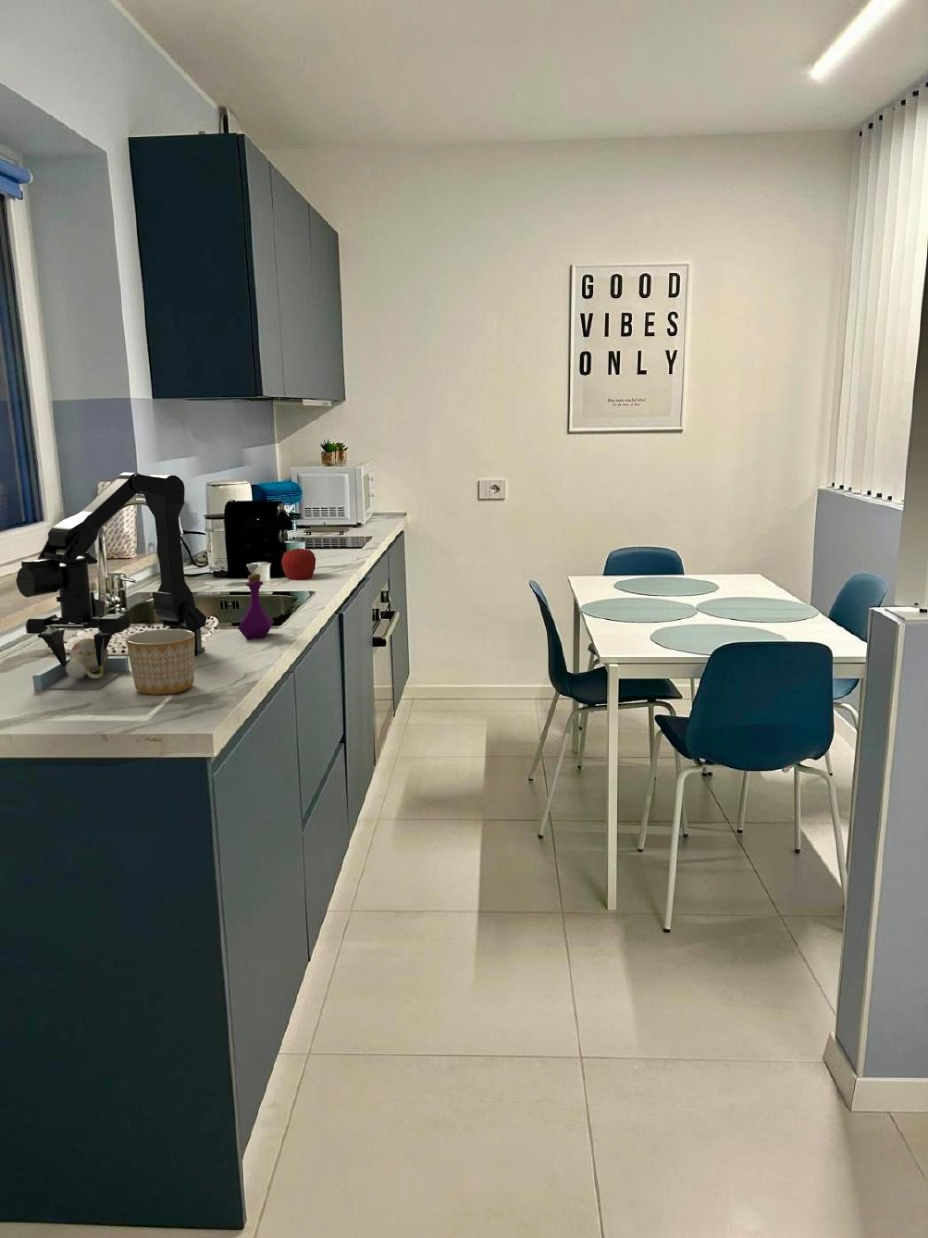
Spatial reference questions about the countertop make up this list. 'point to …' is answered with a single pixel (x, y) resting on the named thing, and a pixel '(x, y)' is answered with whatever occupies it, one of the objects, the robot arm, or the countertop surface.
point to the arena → (59, 671)
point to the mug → (84, 660)
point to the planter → (162, 660)
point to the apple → (298, 564)
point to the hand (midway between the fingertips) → (82, 665)
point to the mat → (85, 682)
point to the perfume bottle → (255, 610)
